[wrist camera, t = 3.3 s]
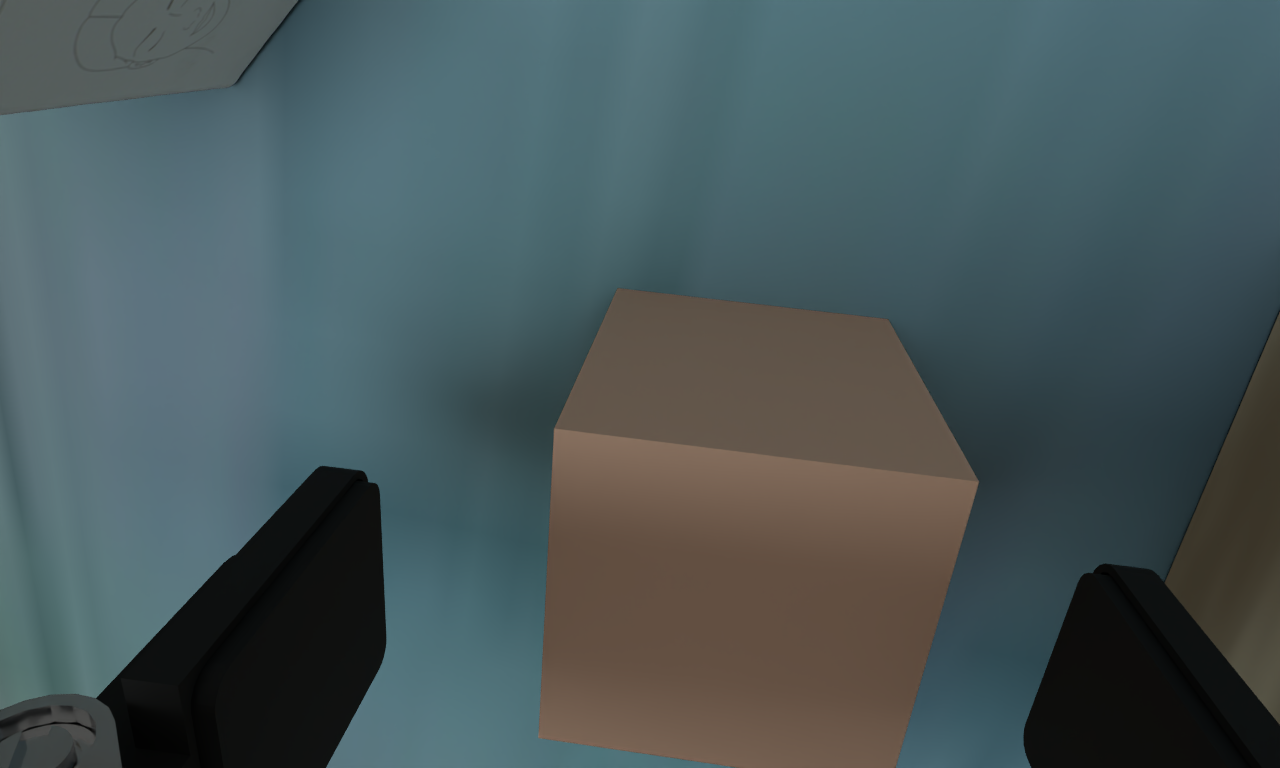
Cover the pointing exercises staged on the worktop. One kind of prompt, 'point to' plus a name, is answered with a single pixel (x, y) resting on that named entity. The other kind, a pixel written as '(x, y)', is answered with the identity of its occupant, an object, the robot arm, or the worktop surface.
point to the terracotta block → (746, 536)
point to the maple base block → (1241, 539)
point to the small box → (126, 48)
